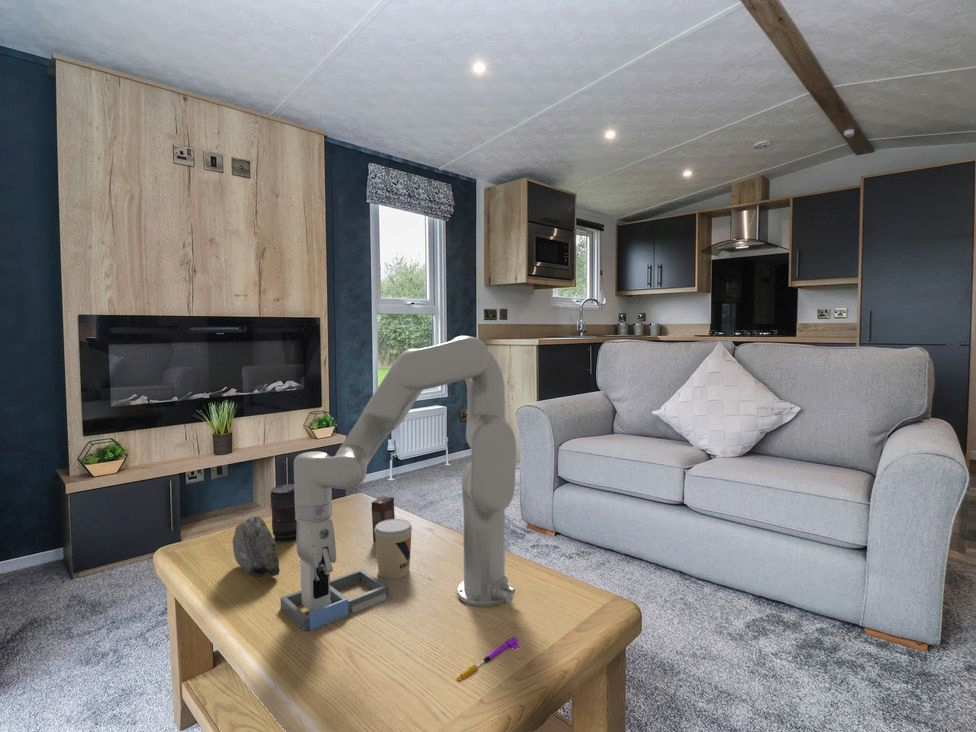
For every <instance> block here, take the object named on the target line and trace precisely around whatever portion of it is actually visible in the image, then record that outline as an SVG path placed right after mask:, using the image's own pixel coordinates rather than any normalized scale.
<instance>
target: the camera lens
mask: <svg viewBox="0 0 976 732" xmlns="http://www.w3.org/2000/svg"><path fill="white" fill-rule="evenodd" d="M270 507H271V530H272V536H274V541H275V542H279V543H287V542H292V541H294V540H296V534H297V521H296V519H295V487H294V484H292V483H291V484H290V483H289V484H288V483H287V484H281V485H277V486H274V487H273V488H271V492H270Z"/></svg>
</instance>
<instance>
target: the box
mask: <svg viewBox="0 0 976 732" xmlns="http://www.w3.org/2000/svg"><path fill="white" fill-rule="evenodd" d="M370 504H371V519H372V522H371V523H372V524H371V525H372V537H373V538H372V540H373V541H372V543H375V544H376V538H375V531H374V529H375V527H376V525H377V524H378V523H379V522H382V521H385V520H390V519H396V517H395V497H394V496H385V495H384V496H383V495H382V496H380V497H379V498H377V499H375V500H373V501H371V503H370Z"/></svg>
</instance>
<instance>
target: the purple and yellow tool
mask: <svg viewBox="0 0 976 732" xmlns="http://www.w3.org/2000/svg"><path fill="white" fill-rule="evenodd" d="M518 645H521V644H520V643H519V642H518V638H517V637H516V636H512V637H510V638H509V639H508V640H506V641H505V642H504V643H503V644H502V645H500V646H499V647H496V649H494V650H493V651H491V652H490V653H489V654H487V655H486V656H485V657H484V658H483V661H481V662H480V663H478V664H475V663H474V664H472V665H470V666H469V667H468V668H467V669H466V670H465V671H463V672H462V673H460V674H459V676H457V677H456V678H455V679H456V681H457V682H461V681H462V680H465V679H466V678H467V677H469V676H470V675H471V674H474V673H476V672H477V671H478V667H479V666H480V665H482V664H483V663H488V662H490V661H492V660H493V659H494V658H496V657H497V656H499V655H501V653H502V652H504V651H506V650H507V649H512V648H513V649H515V647H519V646H518ZM508 647H509V648H508ZM513 649H512V650H513Z"/></svg>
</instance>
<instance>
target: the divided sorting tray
mask: <svg viewBox="0 0 976 732" xmlns="http://www.w3.org/2000/svg"><path fill="white" fill-rule="evenodd" d="M358 583H362V584H363V585H365V586H366V587H368V588H369V589H370V591H367V592H363V593H361V594H358V595H356V596H354V597H351V598H348V597H346V596H345V595H344V594H342V593H341V592H340V591H339V590H342V589H343V588H347V587H349V586H352V585H355V584H358ZM389 591H390V589H389V585H387V584H386V583H384V582H383V581H381V580H380V579H378V578H377V577H375V576H374V575H372V574H371V573H369V572H368V571H366V570H364V569H363V568H360V569H357V570H355V571H352V572H349V573H346V574H344V575H341V576H337V577H335V578H332V579H330V605H327V606H325V607H322V608H319V609H317V610H314V611H312V612H310V611H309V612H308V614H307V615H306V613H305V612H303V611H302V610H301V609H300V608H299V607H298V606H299V605H302V598H301V590H298V591H296V592H292V593H290V594H287V595H284V596H281V597H280V609H281V610H282V611H283V613H285V614H286V615H287V616H288V617H289V618H290V619H291V620H292V621H293V622H294V623H295V624H296V625H297V626H298V627H299V628H300V629H301V630H303V632H306V631H308V630H309V631H314V630H315V629H318V628H320V627H323V626H325V625H327V624H330V623H333V622H334V621H337V620H339V619H341V618H344V617H347V616H349V614H350V613H351V614H355V613H356V612H359V611H361V610H364V609H366V608H368V607H371V606H374V605H376V604H379V603H381V602H383V601H386V600H387V598H389V595H390V594H389ZM297 605H298V606H297Z"/></svg>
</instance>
